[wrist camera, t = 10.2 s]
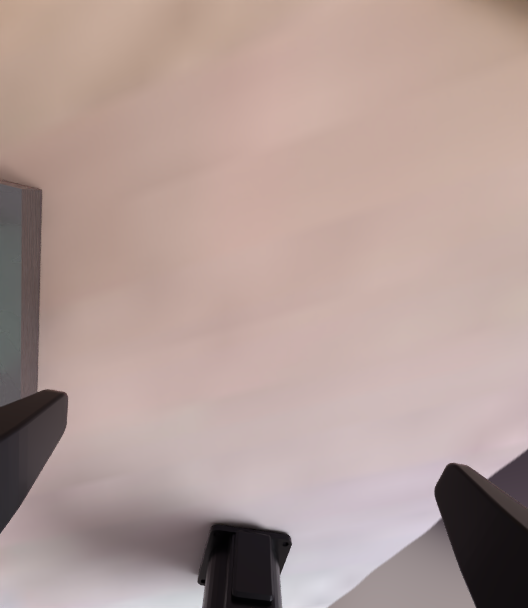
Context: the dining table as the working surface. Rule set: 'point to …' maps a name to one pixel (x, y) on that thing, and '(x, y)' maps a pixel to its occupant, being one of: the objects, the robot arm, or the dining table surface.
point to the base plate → (19, 289)
